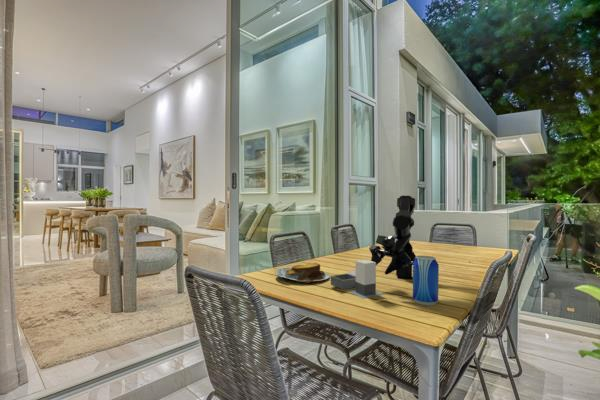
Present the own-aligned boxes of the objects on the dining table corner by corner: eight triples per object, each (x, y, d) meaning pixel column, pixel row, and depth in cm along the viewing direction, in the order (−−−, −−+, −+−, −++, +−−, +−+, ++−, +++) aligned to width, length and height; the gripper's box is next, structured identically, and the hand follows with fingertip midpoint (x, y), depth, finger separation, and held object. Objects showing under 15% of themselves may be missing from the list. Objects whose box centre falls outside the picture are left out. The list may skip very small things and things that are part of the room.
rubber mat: (367, 288, 128) (367, 287, 128) (384, 295, 119) (384, 294, 119) (347, 292, 123) (347, 290, 123) (363, 299, 114) (363, 298, 114)
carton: (352, 281, 138) (352, 269, 137) (364, 286, 130) (364, 273, 130) (325, 286, 131) (325, 273, 131) (336, 291, 124) (336, 277, 124)
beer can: (436, 308, 106) (436, 260, 106) (410, 303, 110) (410, 258, 110) (439, 301, 113) (440, 256, 113) (415, 297, 118) (415, 254, 117)
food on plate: (286, 270, 160) (286, 257, 160) (334, 274, 153) (334, 260, 152) (265, 283, 136) (265, 267, 136) (321, 288, 128) (321, 272, 128)
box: (366, 289, 125) (366, 259, 124) (375, 293, 120) (375, 262, 120) (355, 291, 122) (355, 260, 122) (364, 295, 117) (364, 263, 117)
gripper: (372, 225, 134) (351, 253, 129) (405, 230, 117) (382, 262, 113) (386, 243, 138) (366, 271, 133) (420, 249, 121) (398, 282, 116)
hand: (377, 271), depth 124 cm, fingers open, 9 cm apart
